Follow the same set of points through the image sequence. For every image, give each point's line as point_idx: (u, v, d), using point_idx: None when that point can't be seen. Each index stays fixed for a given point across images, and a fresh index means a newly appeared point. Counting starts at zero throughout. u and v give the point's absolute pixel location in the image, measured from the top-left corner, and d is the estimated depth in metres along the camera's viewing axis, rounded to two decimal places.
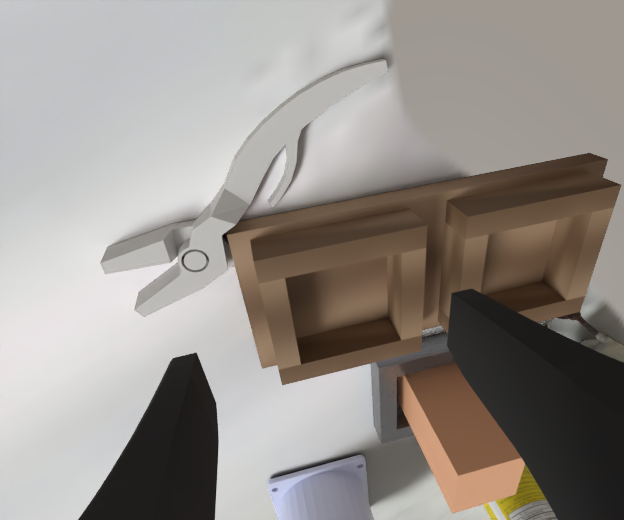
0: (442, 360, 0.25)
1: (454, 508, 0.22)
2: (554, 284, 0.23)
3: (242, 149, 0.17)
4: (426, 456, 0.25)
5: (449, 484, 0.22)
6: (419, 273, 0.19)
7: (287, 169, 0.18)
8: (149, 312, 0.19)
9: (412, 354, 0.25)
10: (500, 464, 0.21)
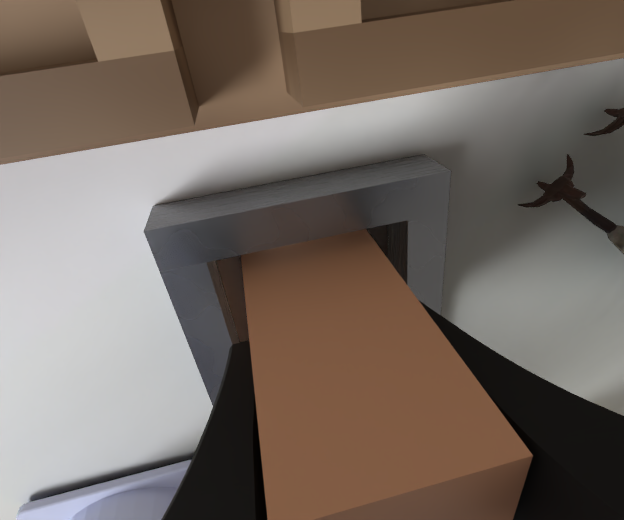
0: (321, 223, 0.10)
1: None
2: None
3: None
4: None
5: None
6: None
7: None
8: None
9: (243, 204, 0.10)
10: (434, 486, 0.06)
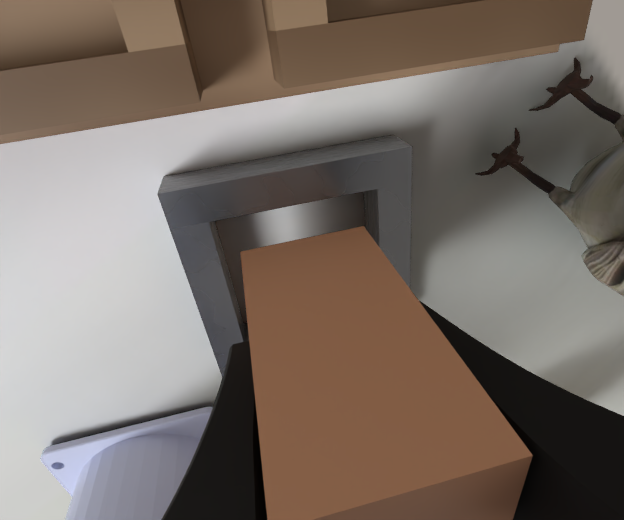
0: (304, 189, 0.12)
1: None
2: None
3: None
4: None
5: None
6: None
7: None
8: None
9: (239, 173, 0.12)
10: (433, 486, 0.06)
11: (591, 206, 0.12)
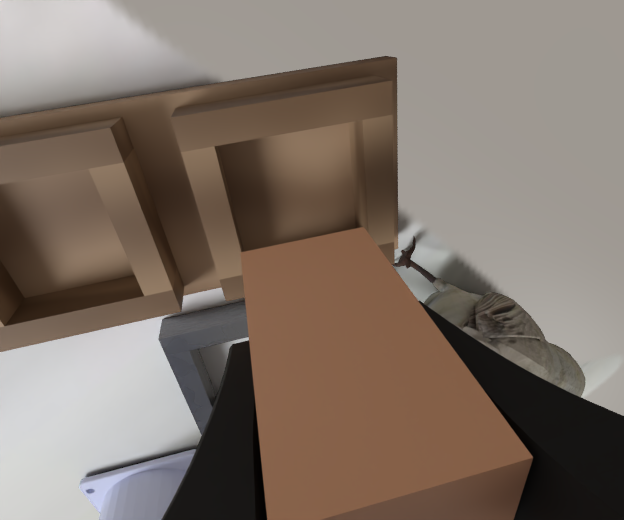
0: (246, 330, 0.21)
1: None
2: None
3: None
4: None
5: None
6: (130, 200, 0.14)
7: None
8: None
9: (207, 322, 0.20)
10: (434, 488, 0.06)
11: None
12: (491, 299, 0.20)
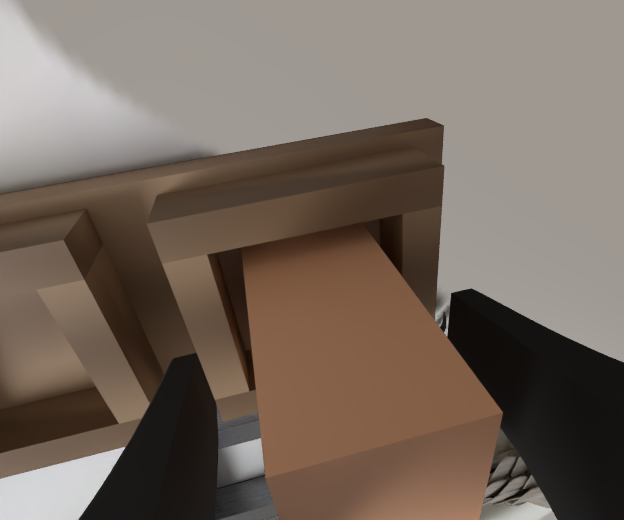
0: (248, 434, 0.17)
1: None
2: None
3: None
4: None
5: None
6: (95, 322, 0.11)
7: None
8: None
9: None
10: (413, 439, 0.06)
11: None
12: None
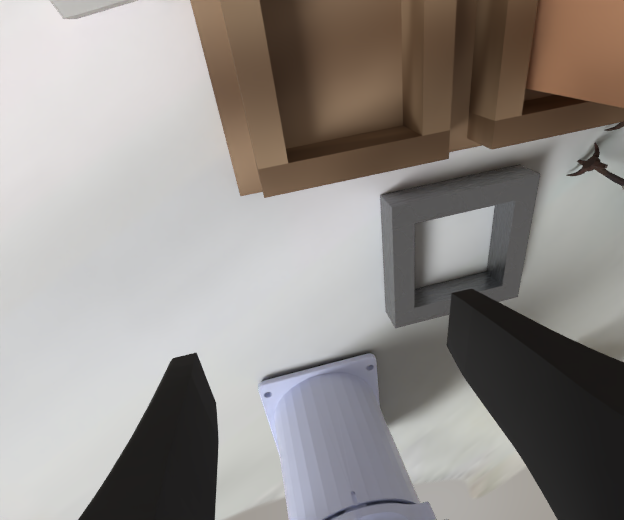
0: (472, 202, 0.20)
1: None
2: None
3: None
4: (598, 92, 0.14)
5: None
6: (448, 10, 0.14)
7: None
8: (72, 12, 0.13)
9: (434, 193, 0.20)
10: None
11: None
12: None
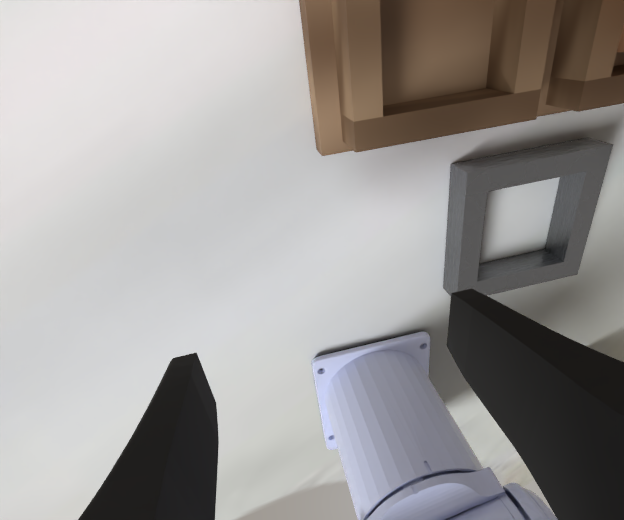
0: (545, 171, 0.20)
1: None
2: None
3: None
4: None
5: None
6: None
7: None
8: None
9: (507, 161, 0.20)
10: None
11: None
12: None
